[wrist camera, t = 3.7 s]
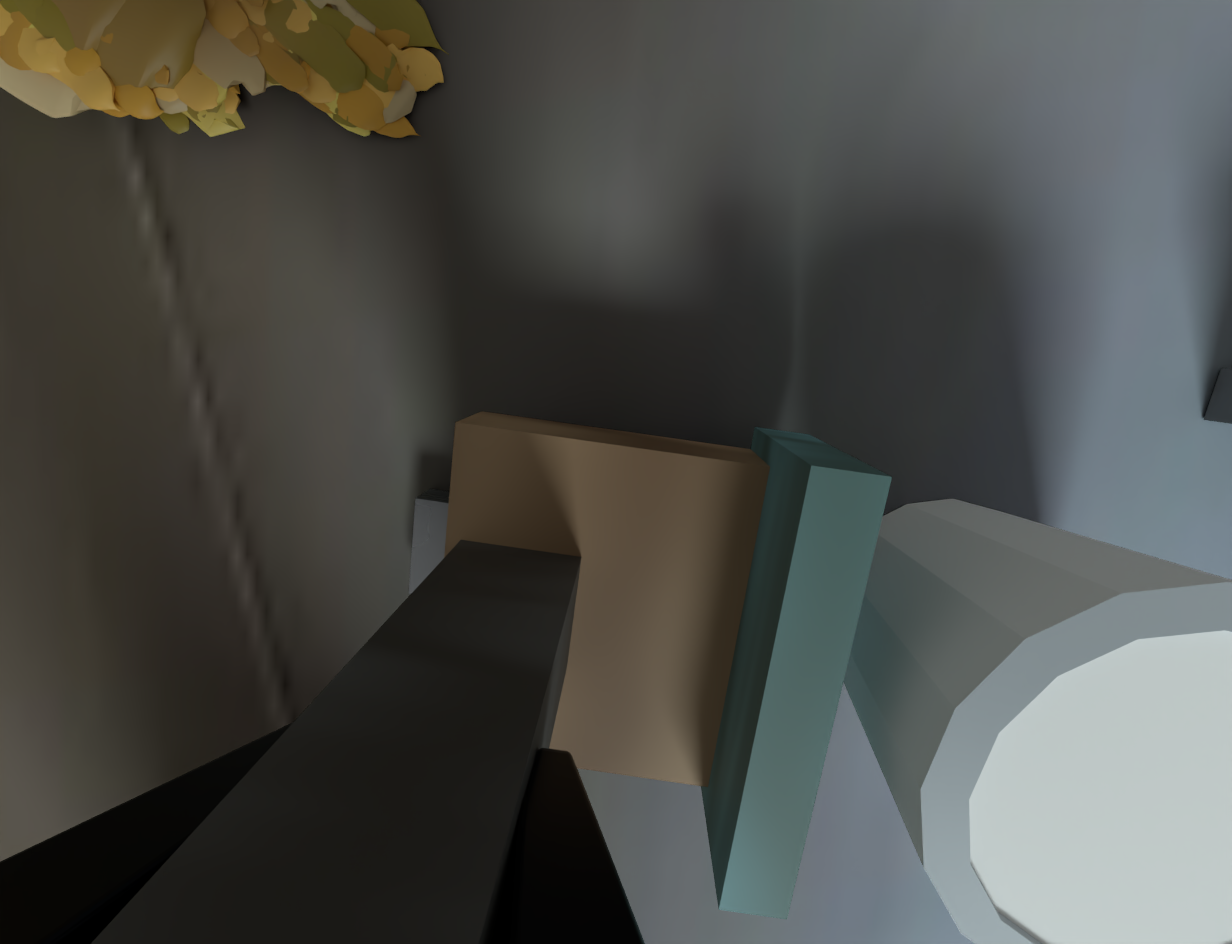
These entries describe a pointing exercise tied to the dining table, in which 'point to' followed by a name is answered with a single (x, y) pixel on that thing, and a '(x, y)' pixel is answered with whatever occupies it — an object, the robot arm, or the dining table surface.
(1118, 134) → the dining table surface
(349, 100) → the gold and teal figure
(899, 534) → the white cylinder
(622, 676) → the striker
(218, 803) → the robot arm
